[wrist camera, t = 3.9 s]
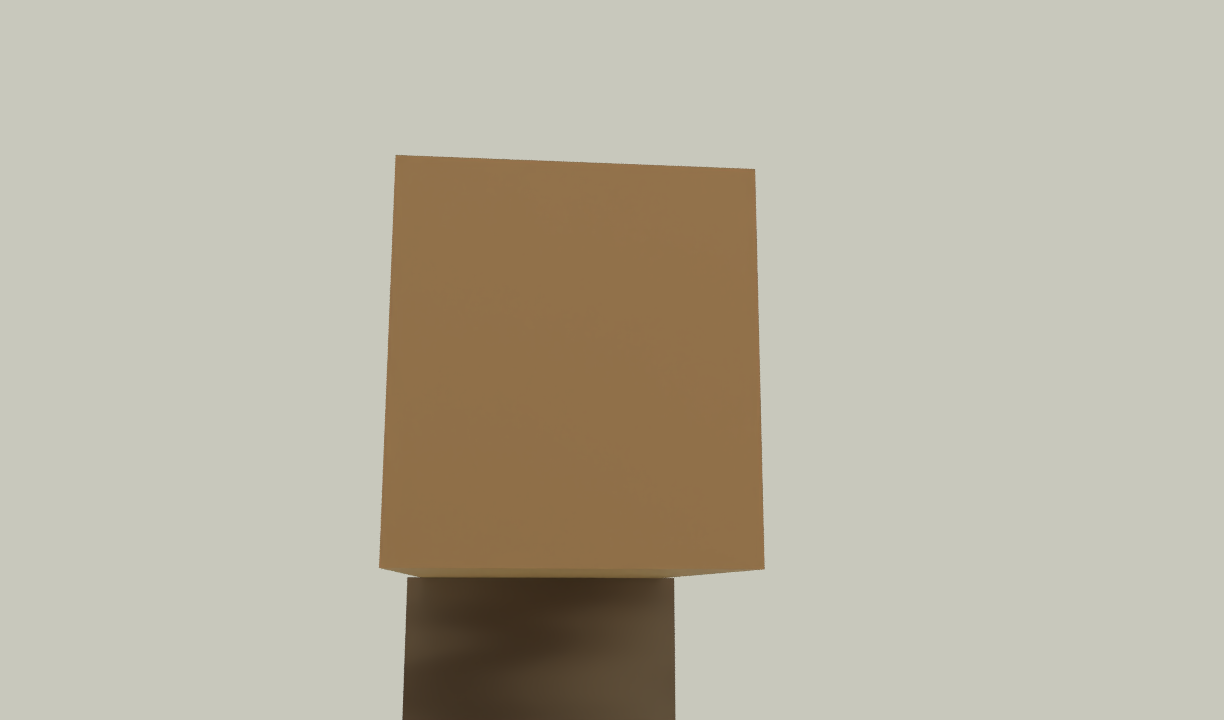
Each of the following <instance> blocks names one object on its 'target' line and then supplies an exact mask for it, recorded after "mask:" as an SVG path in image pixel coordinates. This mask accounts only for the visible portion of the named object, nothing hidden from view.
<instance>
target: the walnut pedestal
mask: <svg viewBox="0 0 1224 720" xmlns="http://www.w3.org/2000/svg"><path fill="white" fill-rule="evenodd" d="M674 628H675V627H674V578H450V577H408V578H407V606H406V635H405V664H404V691H403V720H675V639H674V638H675V636H674V635H675V633H674V632H675V631H674V630H675V629H674Z"/></svg>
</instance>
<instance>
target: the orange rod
mask: <svg viewBox="0 0 1224 720" xmlns="http://www.w3.org/2000/svg"><path fill="white" fill-rule="evenodd" d="M390 286H391V287H390V311H389V312H390V313H389V335H388V361H387V386H386V410H385V412H386V413H385V435H384V460H383V485H382V509H381V535H380V559H379V560H380V561H379V568H382V569H386V570H391V571H395V572H400V573H404V574H408V575H413V576H417V577H450V578H668V577H680V576H692V575H703V574H715V573H726V572H739V571H750V570H760V569H761V570H762V569H764V568H765V567H764V527H763V485H762V484H763V483H762V442H761V400H760V359H759V319H758V318H759V315H758V273H757V231H756V189H755V169H739V168H714V167H689V166H687V167H686V166H662V165H638V164H612V163H586V162H560V161H535V160H509V159H483V158H482V159H481V158H458V157H433V156H431V157H430V156H407V155H396V161H395V185H394V210H393V235H392V262H391V285H390Z"/></svg>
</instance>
